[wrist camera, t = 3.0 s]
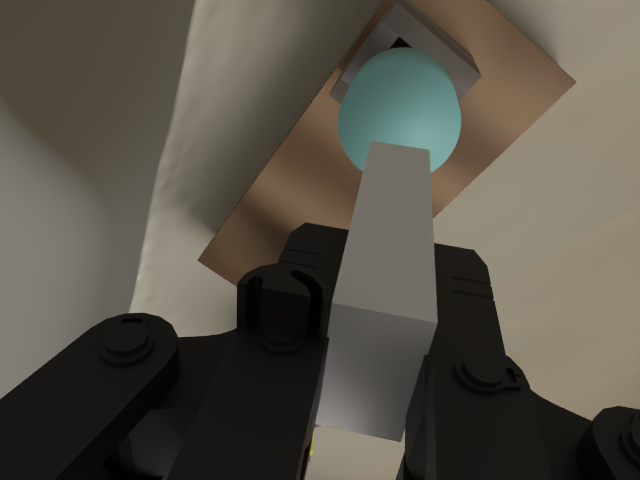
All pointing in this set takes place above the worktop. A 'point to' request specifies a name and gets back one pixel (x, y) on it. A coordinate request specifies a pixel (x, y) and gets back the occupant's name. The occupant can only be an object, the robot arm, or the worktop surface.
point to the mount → (338, 170)
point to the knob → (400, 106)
